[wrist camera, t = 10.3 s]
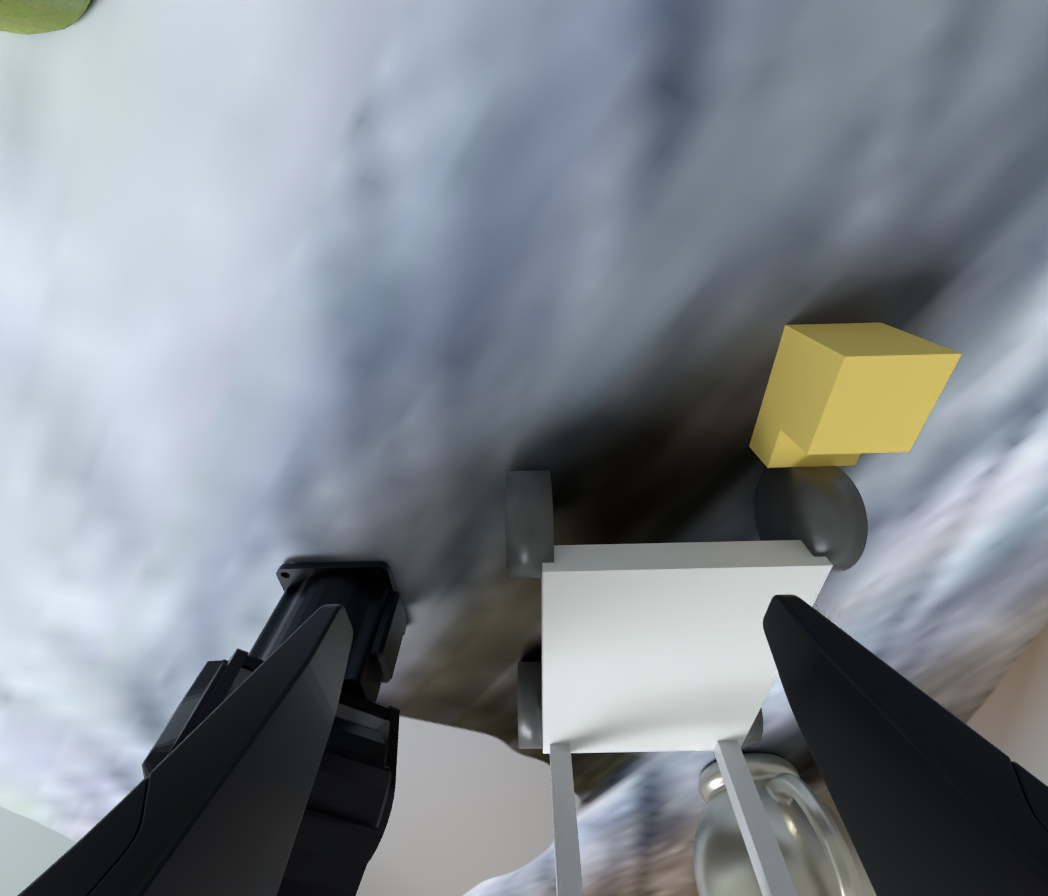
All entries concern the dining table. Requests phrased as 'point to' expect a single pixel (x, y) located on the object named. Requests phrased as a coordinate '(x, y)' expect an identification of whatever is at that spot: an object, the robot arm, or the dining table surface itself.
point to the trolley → (670, 641)
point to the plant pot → (39, 15)
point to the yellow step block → (847, 393)
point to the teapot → (799, 827)
